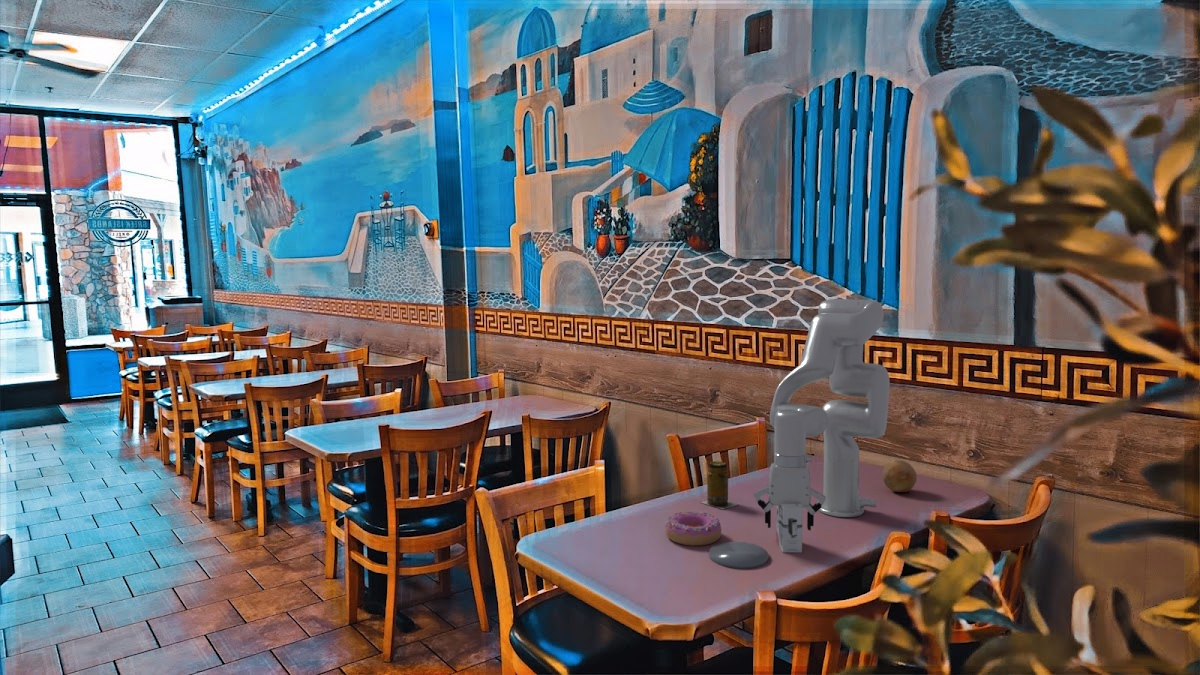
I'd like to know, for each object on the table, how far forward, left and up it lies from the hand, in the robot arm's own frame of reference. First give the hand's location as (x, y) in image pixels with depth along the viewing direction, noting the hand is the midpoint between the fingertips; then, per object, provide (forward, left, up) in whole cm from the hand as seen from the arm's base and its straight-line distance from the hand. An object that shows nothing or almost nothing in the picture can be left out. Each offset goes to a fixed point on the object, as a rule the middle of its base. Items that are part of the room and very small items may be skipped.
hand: (788, 527), depth 187 cm
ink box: (0, 0, -5) cm, 5 cm away
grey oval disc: (+12, +9, -5) cm, 16 cm away
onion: (-34, -51, -5) cm, 61 cm away
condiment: (+19, -30, -5) cm, 36 cm away
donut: (+24, -2, -5) cm, 25 cm away
